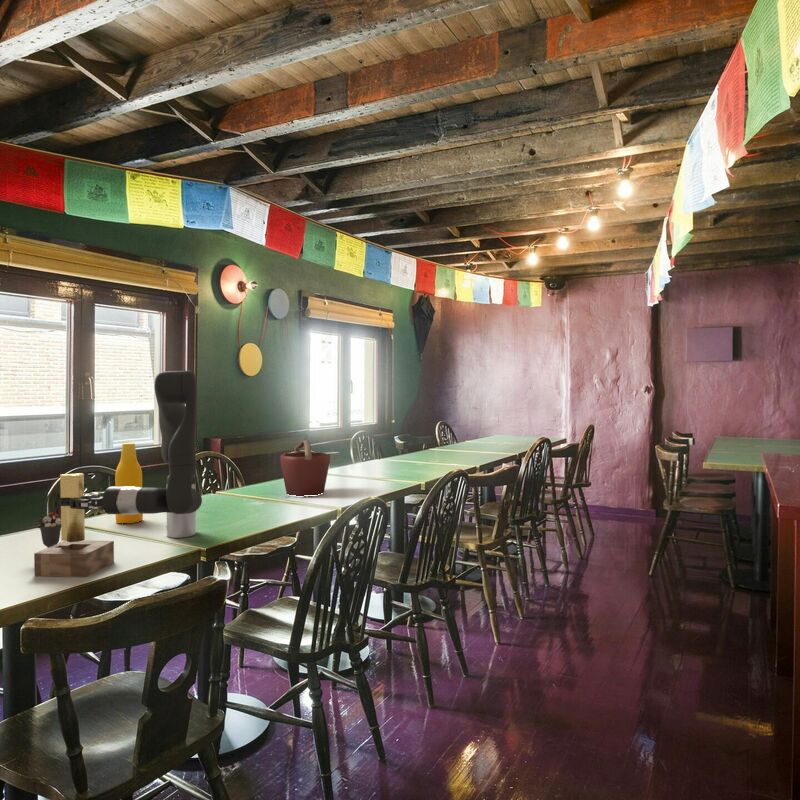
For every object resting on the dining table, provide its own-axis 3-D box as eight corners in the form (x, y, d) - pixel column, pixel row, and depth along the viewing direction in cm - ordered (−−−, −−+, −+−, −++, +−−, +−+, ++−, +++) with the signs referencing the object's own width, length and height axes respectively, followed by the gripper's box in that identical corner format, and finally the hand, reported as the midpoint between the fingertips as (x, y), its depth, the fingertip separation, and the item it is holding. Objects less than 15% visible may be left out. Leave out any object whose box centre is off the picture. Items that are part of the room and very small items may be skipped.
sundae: (68, 555, 180) (68, 505, 180) (56, 562, 174) (56, 509, 173) (46, 556, 180) (45, 505, 180) (33, 562, 174) (32, 510, 173)
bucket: (285, 490, 296) (285, 438, 295) (331, 489, 297) (331, 438, 297) (278, 499, 271) (278, 443, 271) (328, 498, 273) (328, 442, 272)
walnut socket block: (66, 560, 175) (66, 540, 175) (114, 561, 174) (113, 540, 174) (34, 575, 161) (34, 553, 161) (85, 576, 160) (85, 554, 160)
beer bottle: (132, 524, 221) (131, 444, 221) (110, 523, 223) (109, 444, 222) (148, 519, 230) (147, 442, 230) (126, 518, 232) (125, 442, 231)
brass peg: (67, 537, 170) (66, 473, 170) (88, 538, 170) (87, 473, 169) (57, 542, 166) (56, 475, 165) (78, 542, 165) (77, 475, 165)
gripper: (138, 482, 174) (80, 482, 175) (111, 491, 159) (48, 490, 160) (138, 508, 174) (80, 508, 175) (111, 519, 159) (48, 519, 161)
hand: (65, 500), depth 168 cm, fingers closed on brass peg, 4 cm apart
